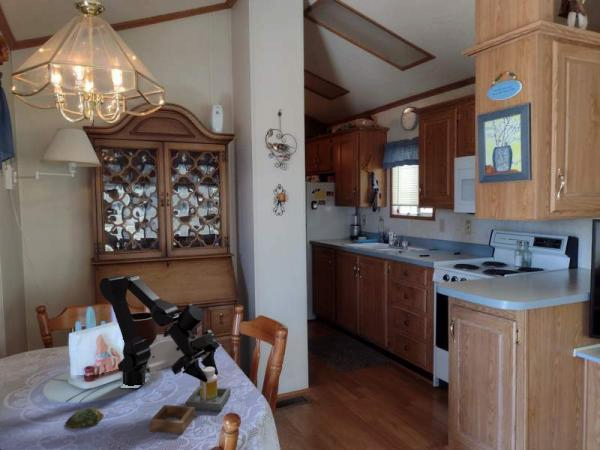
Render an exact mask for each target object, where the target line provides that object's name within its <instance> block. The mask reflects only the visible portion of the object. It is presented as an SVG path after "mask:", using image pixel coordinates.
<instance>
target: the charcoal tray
mask: <svg viewBox="0 0 600 450" xmlns="http://www.w3.org/2000/svg"><path fill="white" fill-rule="evenodd" d="M230 397H231V387H219V386H217V399H216V400H214V401H212V402H208V401H201V400H200V385H198V386H197V387H196V389H195V390H193V392H192V394H191V395H190V396H189V397H188V399H187V400H185V406H189V407H195V411H202V412H219V413H221V412H222V411H223V409H224V407H225V406H226V404H227V402H228V400H229V399H230Z"/></svg>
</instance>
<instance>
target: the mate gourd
mask: <svg viewBox="0 0 600 450" xmlns="http://www.w3.org/2000/svg"><path fill="white" fill-rule="evenodd" d="M131 315H132V318H133V320H134V323H135V326H136V329H137V332H138V335H139V337H140V338H141V339H143V340H145V339H147V341H148V344H149V346H150V345H152V344H154V342H155V341H156V340H157V337H158V327H159V325H157V323H156V322H155V321H154V319H153V318H152V317H151V313H150V311H142V312H141V311H140V312H139V311H138V312H132V313H131Z"/></svg>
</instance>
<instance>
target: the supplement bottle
mask: <svg viewBox="0 0 600 450" xmlns="http://www.w3.org/2000/svg"><path fill="white" fill-rule="evenodd" d="M201 369H202V371H203V373H204V374H205V376H206V378H207V380H208V381H207V382H206V383H205V382H203V381H201V380H199V386H200V400H201V401H208V402H212V401H214V400H216V399H217V387H218V375H217V376H216V374H214V373H215V368H214V367H205V366H204V367H203V368H201Z"/></svg>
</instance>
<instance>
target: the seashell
mask: <svg viewBox="0 0 600 450" xmlns="http://www.w3.org/2000/svg"><path fill="white" fill-rule="evenodd" d="M104 417H105V415H104V413H102V412H101V411H100V410H99V409H97V408H96V407H90V406H89V407H84V408H82V409H80V410H78V411H76V412H74V413H73V414H72V415H71V416H69V418H68V419H67V420H66V421H65V427H66V428H69V429H73V430H77V429H82V428H83V429H85V428H87V427H88V428H89V427H91V426H97V425H98V424H99V423H100V422H101V421H102V420H103V419H104Z"/></svg>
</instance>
